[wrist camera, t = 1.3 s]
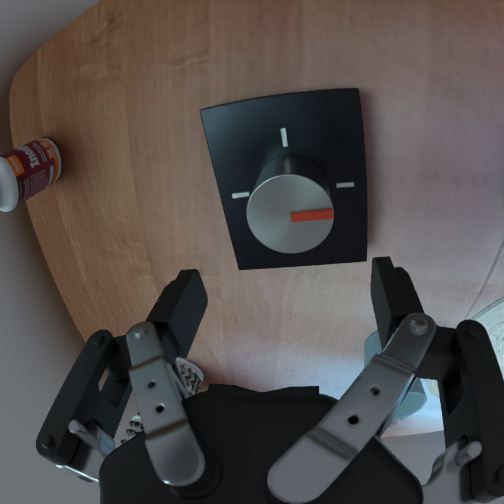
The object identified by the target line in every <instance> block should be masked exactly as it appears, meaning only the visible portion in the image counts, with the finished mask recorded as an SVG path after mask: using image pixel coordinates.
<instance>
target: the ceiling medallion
mask: <svg viewBox="0 0 504 504" xmlns="http://www.w3.org/2000/svg"><path fill="white" fill-rule="evenodd" d="M470 320H475V321H478V322H479V323H481V324H482V325H483V326H484V327H485V329H486V331H487V333H488V336H489V338H490V341H491V343H492V346H493V349H494V352H495V354H496V357H497V360H498V363H499V366H500V369H501V372H502V376H503V379H504V297H503V298H501V299H500V300H498V301H496V302H494V303H493V304H491V305H490V306H488V307H487V308H485V309H484V310H482V311H481V312H479V313H478V314H477V315H475V316H474V317H473V318H472V319H470ZM426 385H427V388H428V390H429V392H430V393H431V394H432V395H434V396H436V397H439V398H440V396H439V390H438V384H437V380H430V379H426Z"/></svg>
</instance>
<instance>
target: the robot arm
mask: <svg viewBox="0 0 504 504" xmlns="http://www.w3.org/2000/svg"><path fill="white" fill-rule="evenodd" d="M371 299H372V304H373V308H374V313H375V317H376V322H377V327H378V332H379V337H380V343H381V348H382V352H381V353H380V354H379V355H378V354H375V355H374V356H373V357H372V359H371V360H370V361H369V363H368V364H367V365H366V367H365V368H364V369H363V371H362V372H361V373H360V375H359V376H358V377H357V378H356V380H355V381H354V382H353V383H352V385H351V386H350V387H349V388H348V390H347V391H346V392H345V393H344V395H343V396H342V397H341V398H340V399H339V400H337V399H335V398H333V397H330V396H327V395H323V394H319V386H304V387H287V388H282V389H278V390H273V391H268V392H257V391H253V390H249V389H246V388H242V387H239V386H236V385H223V384H209V387H208V390H207V391H204V392H200V393H197V394H194V395H192V396H191V395H190V393H189V391H188V389H187V387H186V385H185V382H184V380H183V378H182V376H181V373H180V371H179V369H178V366H177V364H176V363H175V361H176V359H177V357H180V358H187V355H188V353H189V350H190V348H191V345H192V343H193V340H194V337H195V335H196V332H197V330H198V327H199V325H200V322H201V320H202V317H203V315H204V312H205V310H206V307H207V303H208V298H207V293H206V290H205V287H204V285H203V282H202V279H201V276H200V273H199V271H198V270H197V269H189V270H181V271H180V273H179V274H178V276H177V278H176V280H173V281H171V282H170V283H169V284H168V285H167V286H166V287H165V288H164V290H163V292H162V293H161V296H160V297H159V298H158V300H157V302H156V303H155V305H154V307H153V309H152V310H151V312H150V314H149V316H148V317H147V319H146V321H145V322H140V323H137V324H135V325H134V326H132V327H131V328H130V329H129V331H128V332H127V335H123V336H118V337H113V336H112V334H111V333H110V331H108V330H99V331H97V332H95V333H94V334H93V335H91V336H90V338H89V339H88V341H87V342H86V344H85V346H84V348H83V349H82V351H81V353H80V355H79V356H78V358H77V360H76V361H75V363H74V365H73V367H72V369H71V370H70V372H69V374H68V376H67V378H66V380H65V382H64V383H63V385H62V387H61V389H60V391H59V393H58V395H57V397H56V399H55V401H54V403H53V405H52V407H51V409H50V411H49V413H48V415H47V417H46V419H45V421H44V423H43V426H42V428H41V430H40V432H39V434H38V437H37V440H36V448H37V451H38V453H39V454H40V455H41V456H43V457H45V458H46V459H47V460H49V461H51V462H52V463H53V464H55V465H56V466H58V467H59V468H61V469H62V470H64V471H66V472H68V473H69V474H71V475H73V476H76V477H78V478H80V479H82V480H84V481H86V482H97V483H99V486H100V504H486V503H488V502H490V501H493V500H495V499H497V498H500V497H502V496H504V379H503V376H502V372H501V369H500V366H499V363H498V360H497V357H496V354H495V352H494V349H493V346H492V343H491V341H490V338H489V336H488V333H487V331H486V329H485V327H484V326H483V325H482V324H481V323H479V322H478V321H475V320H464V321H462V322H460V323H459V324H458V326H457V328H456V329H454V328H447V327H441V326H437V325H436V324H435V322H434V320H433V319H432V318H431V317H430V316H428V315H426V314H425V313H424V311H423V308H422V305H421V303H420V300H419V298H418V295H417V293H416V290H415V288H414V285H413V283H412V281H411V278H410V276H409V274H408V273H407V272H406V271H405V270H404V269H403V268H402V267H394V266H393V264H392V261H391V259H390V257H389V256H388V257H375V258H373V260H372V273H371ZM104 371H106V372H107V373H108V374H109V375H108V377H107V379H106V381H105V383H104V385H103V387H102V390H101V392H100V390H99V381H100V379H101V377H102V374H103V373H104ZM417 378H423V379H430V380H437V384H438V390H439V396H440V403H441V410H442V417H443V426H444V434H445V447H446V450H445V451H444V452H443V453H442V454H440V455H439V456H438V457H437V458H436V460H435V462H434V464H433V467H432V474H431V477H430V479H429V481H428V482H427V483H426V484H425V485H423V486H421V484H420V482H419V480H418V479H417V477H416V476H415V475H414V474H413V473H412V472H411V471H410V470H409V469H408V468H407V467H406V466H405V465H404V464H403V463H402V462H401V461H400V460H399V459H398V458H397V457H396V456H395V455H394V454H393V453H392V452H391V451H390V450H389V449H388V448H387V447H386V446H385V445H384V444H383V443H382V442H381V441H380V440H379V438H380V437H381V436H382V434H383V433H384V431H385V430H386V429H387V427H388V426H389V424H390V422H391V421H392V419H393V418H394V416H395V414H396V412H397V411H398V409H399V408H400V406H401V404H402V403H403V401H404V399H405V398H406V396H407V394H408V393H409V391H410V389H411V388H412V386H413V384H414V382H415V381H416V379H417ZM132 389H133V392H134V396H135V399H136V403H137V407H138V410H139V414H140V417H141V421H142V424H143V427H144V430H142V431H141V432H139V433H138V434H136V435H135V436H134V437H132V438H131V439H129V440H128V441H126V442H125V443H123V444H122V445H121V446H119V447H118V448H116V449H115V442H114V440H113V439H114V436H115V433H116V431H117V428H118V426H119V423H120V420H121V418H122V415H123V412H124V410H125V407H126V405H127V402H128V399H129V397H130V394H131V392H132Z"/></svg>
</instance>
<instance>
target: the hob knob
mask: <svg viewBox="0 0 504 504" xmlns="http://www.w3.org/2000/svg"><path fill="white" fill-rule="evenodd" d="M333 220H334V210H333V204H332V200H331V196H330V192H329V188H328V183H327V180H326V177H325V175H324V173H323V171H322V170H321V169H320V167H319V166H318V165H317V164H315V163H314V162H313V161H311V160H309V159H307V158H305V157H302V156H297V155H286V156H281V157H278V158H276V159H274V160H272V161H271V162H269V163H268V164H267V165H266V166H265V167H264V168H263V170H262V171H261V173H260V175H259V177H258V180H257V182H256V184H255V187H254V189H253V191H252V193H251V196H250V198H249V201H248V204H247V221H248V225H249V227H250V229H251V231H252V233H253V234H254V236H255V237H256V238H257V239H258V240H259V241H260V242H261V243H262V244H264V245H265V246H267V247H268V248H270V249H273V250H275V251H278V252H283V253H300V252H304V251H307V250H310V249H312V248H314V247H316V246H317V245H319V244H320V243H321V242H322V241H323V240H324V239H325V238H326V237H327V235H328V234H329V232H330V230H331V228H332V225H333Z"/></svg>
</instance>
